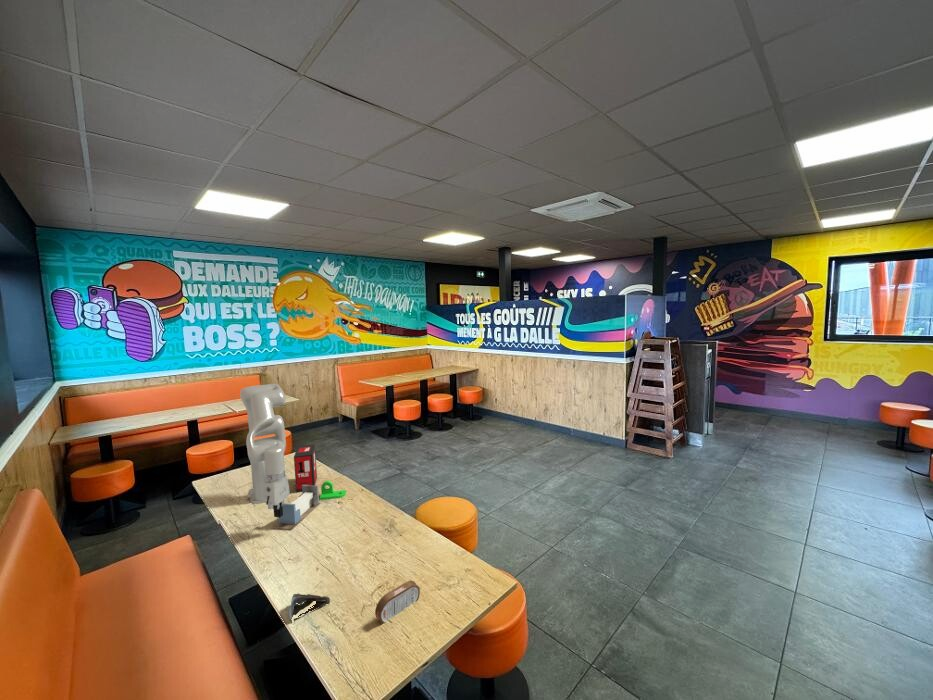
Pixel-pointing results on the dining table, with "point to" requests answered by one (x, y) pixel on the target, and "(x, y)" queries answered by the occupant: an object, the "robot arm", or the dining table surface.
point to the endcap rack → (315, 503)
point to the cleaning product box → (305, 466)
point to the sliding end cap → (290, 514)
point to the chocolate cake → (302, 598)
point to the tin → (397, 600)
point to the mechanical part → (330, 492)
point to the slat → (304, 502)
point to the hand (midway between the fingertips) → (278, 516)
